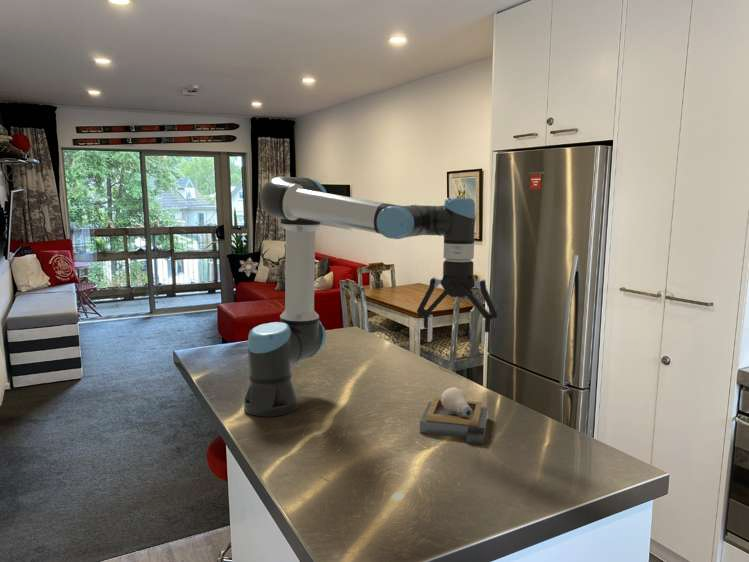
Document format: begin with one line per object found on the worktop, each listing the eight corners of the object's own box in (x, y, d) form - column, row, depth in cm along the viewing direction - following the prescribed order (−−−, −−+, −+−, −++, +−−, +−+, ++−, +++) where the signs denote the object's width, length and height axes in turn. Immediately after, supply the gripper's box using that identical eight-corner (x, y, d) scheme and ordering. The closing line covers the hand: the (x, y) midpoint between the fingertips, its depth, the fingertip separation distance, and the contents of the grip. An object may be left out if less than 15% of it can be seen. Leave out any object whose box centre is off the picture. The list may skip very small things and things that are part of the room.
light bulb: (480, 398, 138) (458, 380, 148) (456, 404, 136) (436, 386, 145) (480, 421, 140) (458, 402, 149) (457, 428, 137) (437, 408, 147)
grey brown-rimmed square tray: (417, 437, 137) (417, 419, 137) (431, 407, 158) (431, 391, 157) (482, 444, 133) (483, 426, 133) (488, 412, 153) (489, 397, 153)
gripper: (406, 259, 138) (405, 342, 141) (509, 263, 132) (505, 349, 135) (412, 256, 145) (411, 335, 149) (510, 260, 139) (506, 342, 142)
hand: (456, 342), depth 142 cm, fingers open, 13 cm apart
